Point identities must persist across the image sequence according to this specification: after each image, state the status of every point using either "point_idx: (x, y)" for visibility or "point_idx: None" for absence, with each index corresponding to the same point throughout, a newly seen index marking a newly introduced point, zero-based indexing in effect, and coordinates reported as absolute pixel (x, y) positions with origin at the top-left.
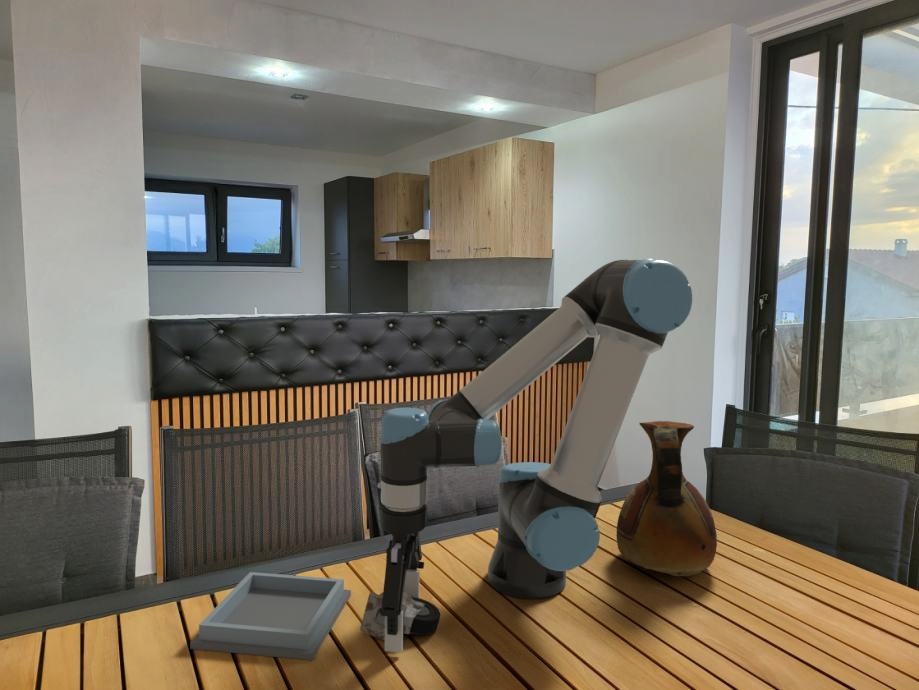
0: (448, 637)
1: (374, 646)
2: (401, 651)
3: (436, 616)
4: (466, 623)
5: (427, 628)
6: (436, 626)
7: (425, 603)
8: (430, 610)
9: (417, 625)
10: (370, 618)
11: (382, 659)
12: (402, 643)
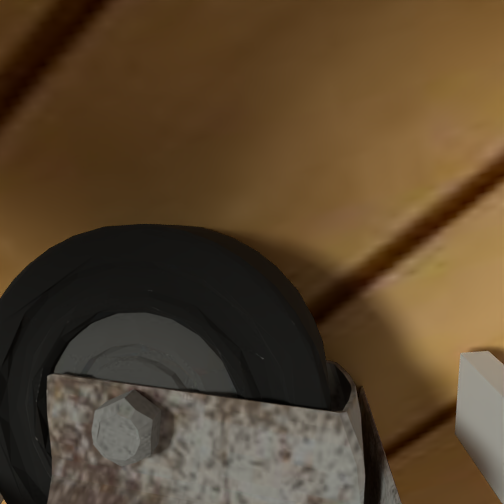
0: (228, 130)
1: (393, 472)
2: (490, 355)
3: (163, 248)
4: (28, 44)
5: (277, 275)
6: (191, 227)
7: (13, 370)
8: (96, 313)
9: (321, 349)
10: None
11: None
12: (493, 378)
